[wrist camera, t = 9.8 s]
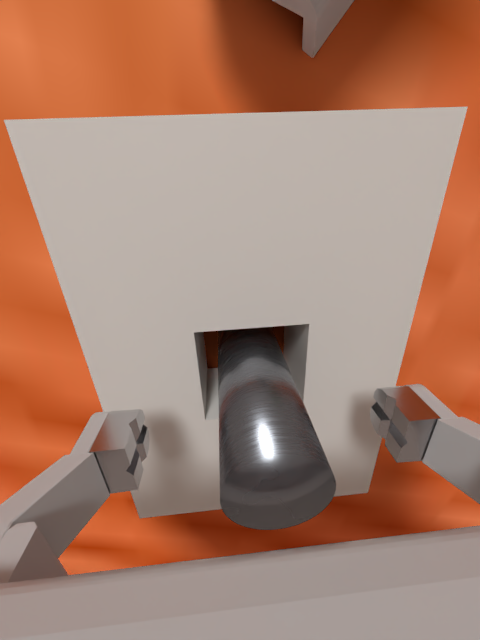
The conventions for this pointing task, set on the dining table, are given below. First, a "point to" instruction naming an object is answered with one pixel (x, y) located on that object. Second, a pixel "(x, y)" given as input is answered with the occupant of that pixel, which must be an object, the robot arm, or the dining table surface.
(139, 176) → the grey block with hole
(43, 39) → the dining table surface
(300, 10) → the grey curved slotted block
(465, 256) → the dining table surface
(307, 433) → the pin
